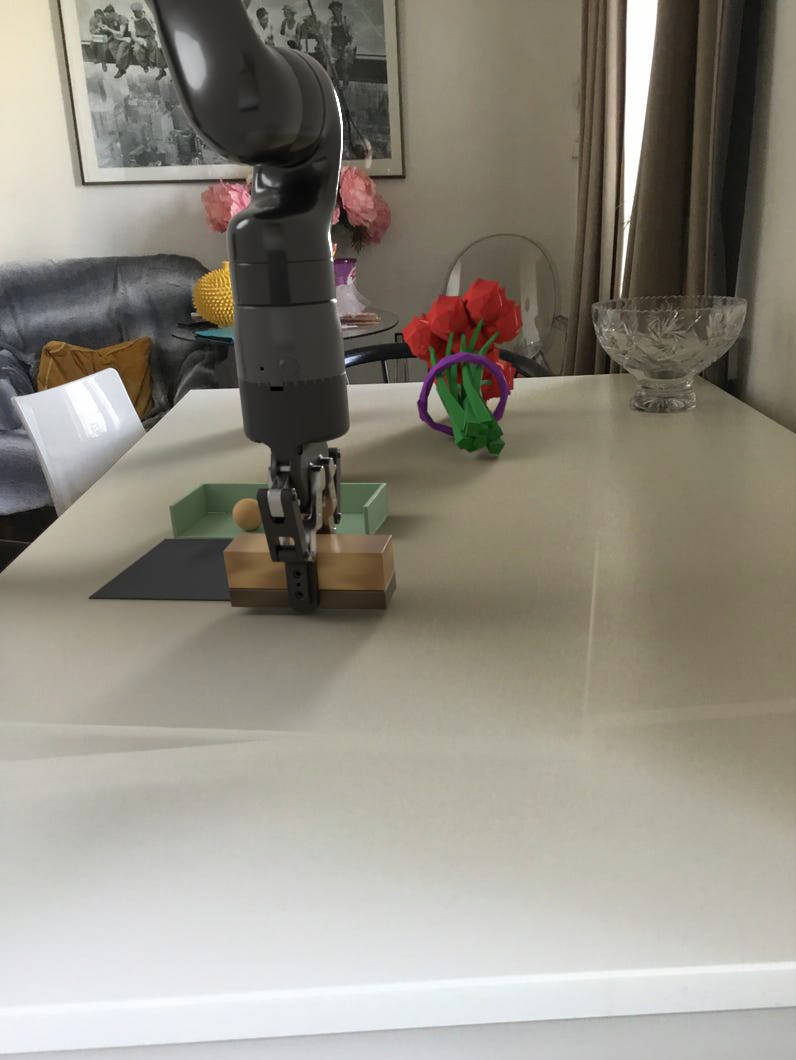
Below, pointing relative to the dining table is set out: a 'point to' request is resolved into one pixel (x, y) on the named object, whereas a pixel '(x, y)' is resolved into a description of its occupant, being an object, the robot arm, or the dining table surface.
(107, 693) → the dining table surface
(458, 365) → the bouquet
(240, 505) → the ball
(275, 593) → the brush
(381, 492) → the dustpan
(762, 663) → the dining table surface
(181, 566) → the mat
